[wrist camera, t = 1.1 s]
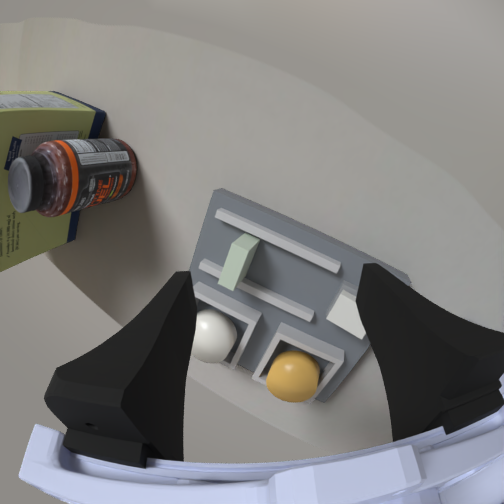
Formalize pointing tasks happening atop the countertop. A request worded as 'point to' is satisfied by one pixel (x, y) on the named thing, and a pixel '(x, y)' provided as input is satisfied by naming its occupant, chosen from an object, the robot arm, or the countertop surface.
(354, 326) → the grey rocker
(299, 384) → the amber button
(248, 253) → the sage paddle
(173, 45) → the countertop surface
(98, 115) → the protein box
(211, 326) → the white button
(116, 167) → the supplement bottle
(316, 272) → the switch panel
